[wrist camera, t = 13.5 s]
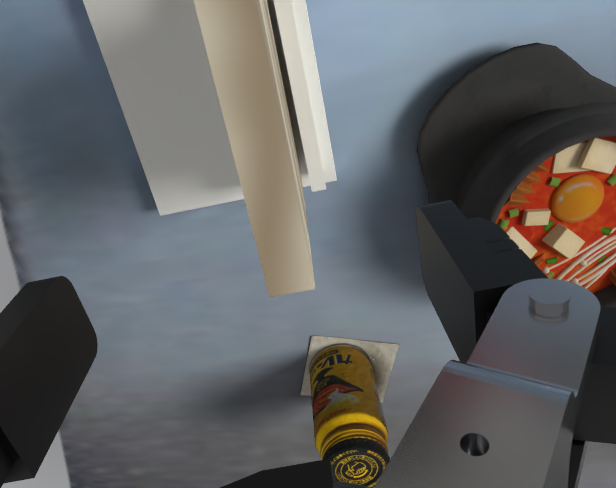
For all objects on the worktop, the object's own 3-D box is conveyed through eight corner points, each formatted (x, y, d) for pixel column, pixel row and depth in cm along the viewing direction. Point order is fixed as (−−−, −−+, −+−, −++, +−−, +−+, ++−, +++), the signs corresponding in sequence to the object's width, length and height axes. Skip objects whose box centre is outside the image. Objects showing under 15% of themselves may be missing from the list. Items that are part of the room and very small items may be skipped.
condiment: (311, 334, 47) (321, 436, 36) (398, 343, 48) (433, 444, 37) (300, 393, 50) (306, 503, 39) (382, 400, 51) (409, 508, 40)
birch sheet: (264, -16, 32) (251, -24, 16) (299, 161, 37) (315, 288, 21) (234, -10, 32) (190, -11, 16) (273, 166, 38) (269, 297, 21)
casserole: (692, 230, 44) (777, 279, 36) (506, 342, 48) (548, 406, 41) (573, -21, 34) (655, -25, 27) (355, 147, 39) (374, 184, 31)
